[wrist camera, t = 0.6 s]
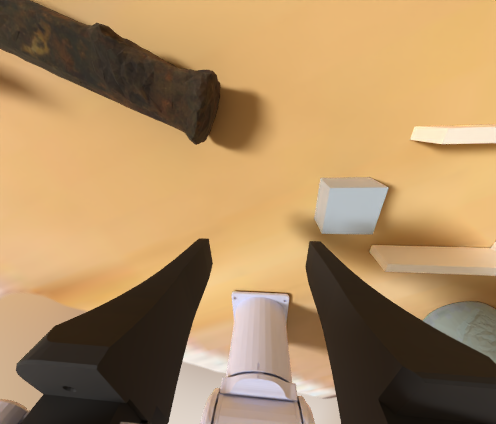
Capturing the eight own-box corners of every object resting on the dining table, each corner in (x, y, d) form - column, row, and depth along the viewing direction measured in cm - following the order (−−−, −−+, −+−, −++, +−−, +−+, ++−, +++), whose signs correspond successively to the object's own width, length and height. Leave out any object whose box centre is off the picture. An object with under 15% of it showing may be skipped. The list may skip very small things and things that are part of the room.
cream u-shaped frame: (495, 255, 19) (532, 277, 17) (369, 251, 20) (384, 271, 18) (601, 121, 13) (684, 121, 11) (414, 126, 14) (448, 128, 12)
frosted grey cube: (357, 218, 19) (372, 234, 16) (313, 217, 19) (321, 233, 17) (369, 176, 17) (388, 187, 14) (319, 177, 17) (330, 188, 15)
